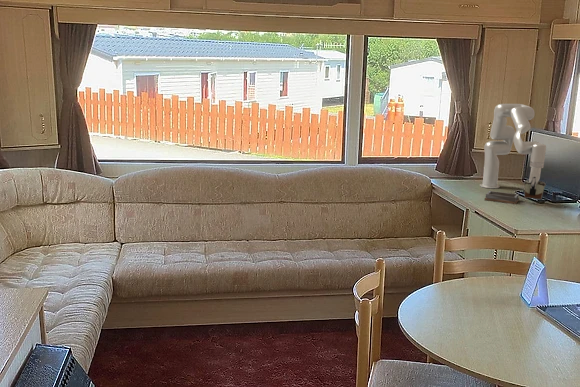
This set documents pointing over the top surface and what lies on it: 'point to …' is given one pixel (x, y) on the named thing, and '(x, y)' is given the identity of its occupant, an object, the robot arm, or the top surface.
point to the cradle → (502, 197)
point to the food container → (539, 190)
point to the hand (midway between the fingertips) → (533, 193)
